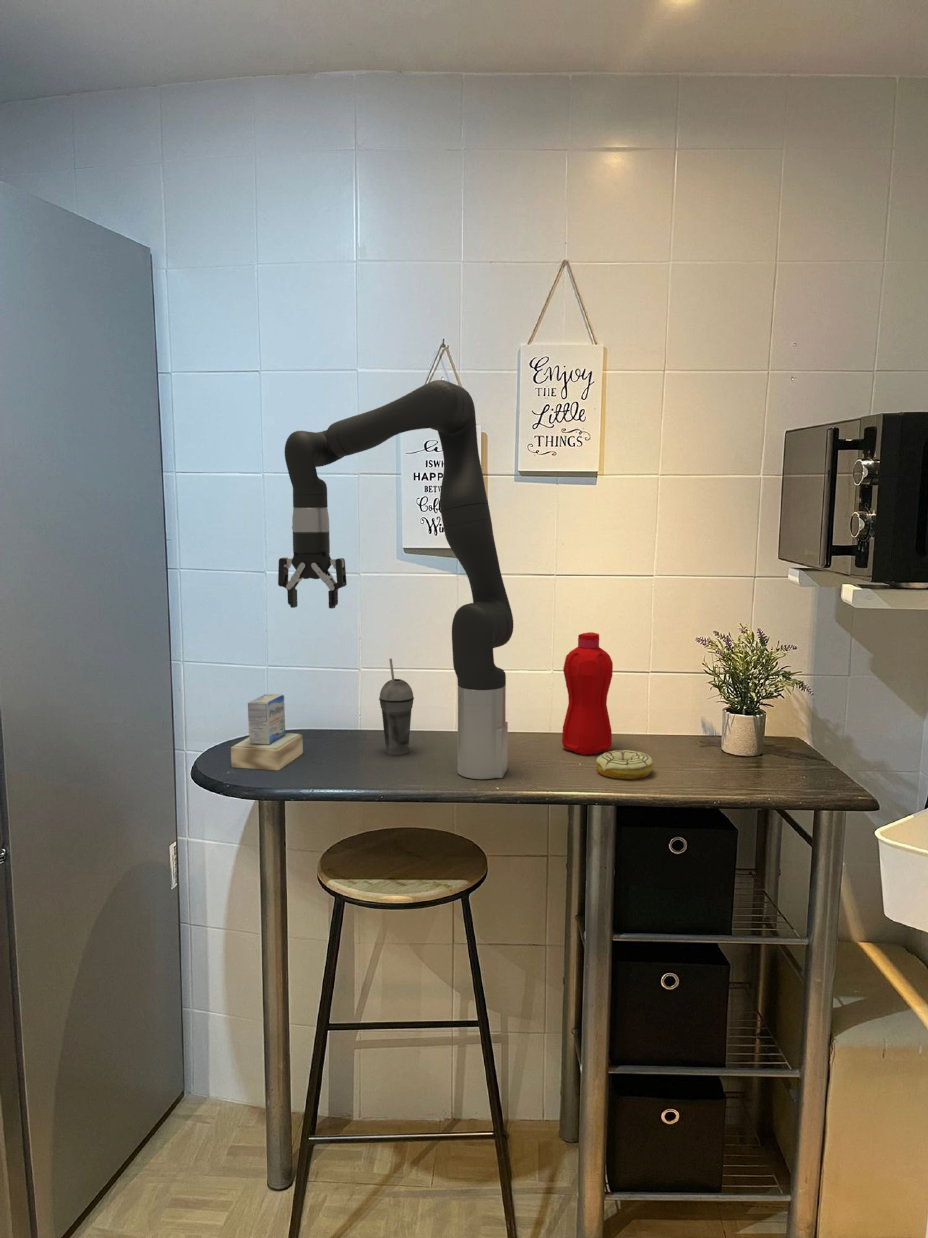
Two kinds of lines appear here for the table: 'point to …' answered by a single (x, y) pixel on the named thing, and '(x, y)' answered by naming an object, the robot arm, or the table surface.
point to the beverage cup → (396, 714)
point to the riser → (267, 753)
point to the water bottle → (587, 697)
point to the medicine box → (266, 719)
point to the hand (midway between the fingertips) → (312, 607)
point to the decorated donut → (624, 764)
